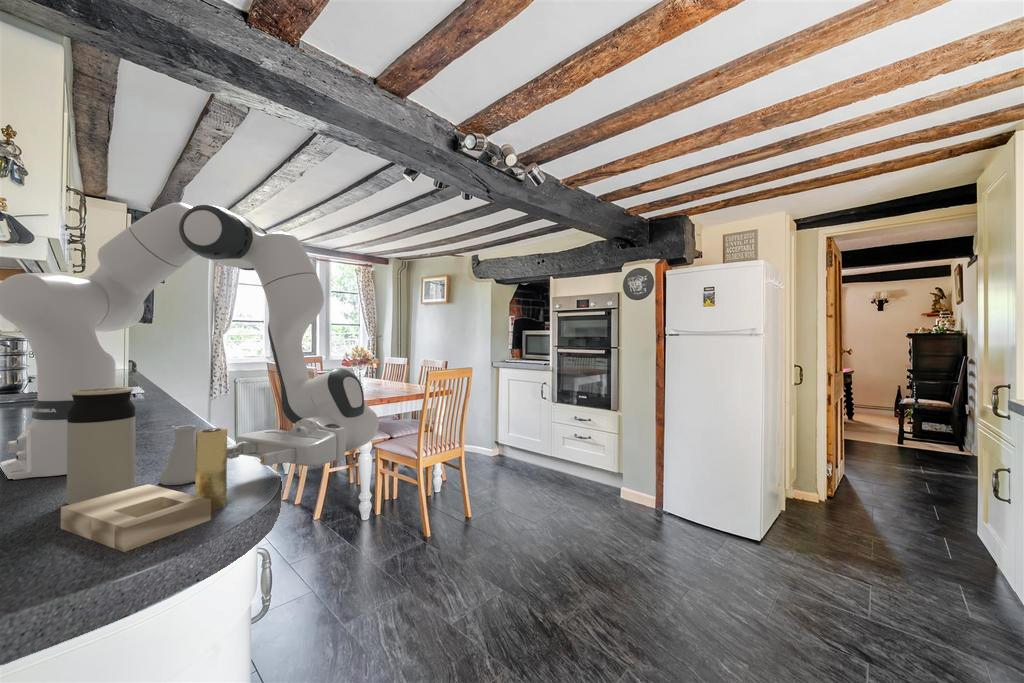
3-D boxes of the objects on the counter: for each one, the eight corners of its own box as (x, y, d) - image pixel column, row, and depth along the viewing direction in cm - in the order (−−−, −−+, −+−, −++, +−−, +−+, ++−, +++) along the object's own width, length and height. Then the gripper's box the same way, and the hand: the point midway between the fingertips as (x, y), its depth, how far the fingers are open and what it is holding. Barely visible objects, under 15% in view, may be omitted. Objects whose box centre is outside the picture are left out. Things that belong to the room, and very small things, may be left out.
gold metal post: (189, 509, 63) (189, 431, 63) (216, 500, 67) (217, 426, 67) (205, 513, 62) (206, 433, 62) (232, 504, 65) (232, 428, 65)
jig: (60, 528, 57) (60, 506, 57) (148, 502, 66) (148, 484, 66) (124, 552, 50) (124, 527, 50) (210, 519, 60) (210, 499, 60)
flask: (181, 488, 73) (181, 431, 73) (148, 485, 74) (149, 429, 74) (218, 475, 80) (218, 424, 80) (187, 472, 81) (188, 422, 81)
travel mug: (137, 497, 68) (138, 389, 68) (66, 511, 62) (67, 393, 62) (131, 485, 74) (132, 385, 74) (66, 498, 68) (67, 389, 68)
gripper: (276, 419, 86) (205, 432, 73) (351, 428, 78) (286, 444, 65) (276, 449, 86) (205, 467, 73) (350, 461, 78) (285, 484, 65)
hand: (244, 457), depth 69 cm, fingers open, 8 cm apart
